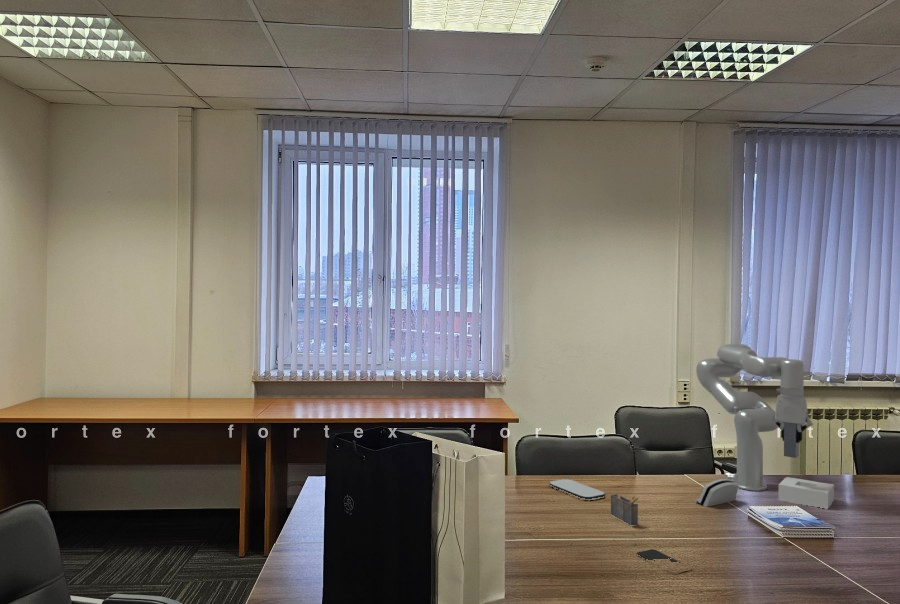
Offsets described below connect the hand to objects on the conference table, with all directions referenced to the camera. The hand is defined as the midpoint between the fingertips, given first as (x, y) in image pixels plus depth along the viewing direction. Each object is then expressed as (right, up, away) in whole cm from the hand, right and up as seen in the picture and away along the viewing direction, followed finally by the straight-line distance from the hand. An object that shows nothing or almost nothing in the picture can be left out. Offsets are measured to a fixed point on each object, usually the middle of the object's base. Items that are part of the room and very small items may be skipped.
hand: (791, 440), depth 227 cm
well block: (+7, -23, +2) cm, 24 cm away
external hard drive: (-78, -23, +11) cm, 83 cm away
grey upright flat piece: (-69, -23, -21) cm, 76 cm away
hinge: (-28, -23, -1) cm, 37 cm away
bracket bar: (0, -6, 0) cm, 6 cm away
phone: (-68, -22, -55) cm, 90 cm away
